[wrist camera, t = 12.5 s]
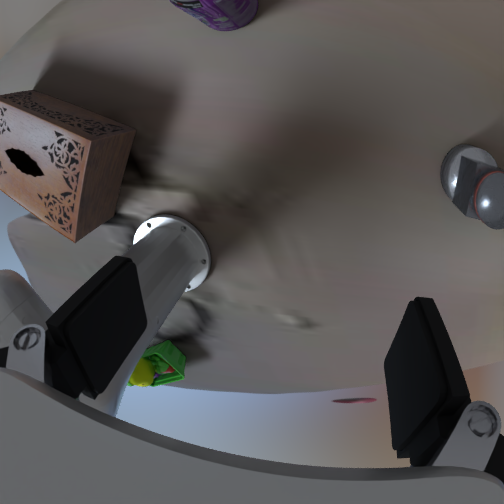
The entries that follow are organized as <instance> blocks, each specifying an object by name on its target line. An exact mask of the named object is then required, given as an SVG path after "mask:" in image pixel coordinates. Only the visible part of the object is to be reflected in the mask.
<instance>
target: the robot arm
mask: <svg viewBox="0 0 504 504" xmlns="http://www.w3.org/2000/svg"><path fill="white" fill-rule="evenodd" d="M210 265H211V256H210V251H209V247H208V245H207V243H206V241H205V239H204V237H203V236H202V235H201V233H200V232H199V231H198V230H197V229H196V228H195V227H194V226H193V225H192V224H190V223H189V222H188V221H186V220H184V219H182V218H180V217H177V216H173V215H167V214H162V215H156V216H153V217H151V218H149V219H148V220H146V221H145V222H144V223H142V224H141V225H140V227H139V228H138V229H137V231H136V234H135V236H134V242H133V246H132V247H131V248H129V249H128V250H127V251H126V252H125V253H124V254H123V255H121V256H115V257H113V258H112V259H111V260H110V261H109V262H108V263H107V264H106V265H104V266H103V267H102V268H101V269H100V270H99V271H98V272H97V273H96V274H94V275H93V276H92V277H91V278H90V279H89V280H88V281H87V282H86V283H85V284H84V285H83V286H82V287H80V288H79V289H78V290H77V291H76V292H75V293H74V294H73V295H72V296H71V297H70V298H69V299H68V300H67V301H66V302H65V303H64V304H63V305H62V306H61V307H60V308H59V309H58V310H57V311H56V312H55V313H54V314H53V313H52V311H51V310H50V309H49V308H48V307H47V305H46V304H45V303H44V302H43V300H42V299H41V298H40V297H39V295H38V294H37V293H36V292H35V291H34V289H33V288H32V287H31V286H30V285H29V283H28V282H27V281H26V280H25V279H24V278H23V277H22V276H21V275H20V274H18V273H17V272H15V271H12V270H0V504H504V436H503V435H502V434H500V429H501V419H500V416H499V413H498V412H497V410H496V409H495V408H494V407H493V406H492V405H490V404H489V403H486V402H484V401H474V402H472V403H471V399H470V393H469V390H468V387H467V384H466V381H465V378H464V375H463V372H462V369H461V366H460V363H459V361H458V358H457V355H456V353H455V350H454V347H453V345H452V342H451V340H450V337H449V335H448V332H447V330H446V327H445V325H444V323H443V320H442V318H441V316H440V313H439V311H438V309H437V307H436V304H435V302H434V300H433V299H432V298H424V297H416V298H415V299H414V301H410V302H409V304H408V306H407V309H406V311H405V314H404V316H403V319H402V321H401V324H400V326H399V328H398V331H397V333H396V335H395V338H394V340H393V342H392V344H391V347H390V349H389V351H388V353H387V355H386V358H385V361H384V371H385V378H386V386H387V394H388V401H389V412H390V422H391V435H392V447H393V449H394V450H397V458H410V464H411V466H410V467H404V468H335V467H320V466H308V465H297V464H289V463H282V462H274V461H268V460H261V459H256V458H250V457H245V456H240V455H235V454H230V453H226V452H221V451H217V450H213V449H209V448H205V447H200V446H197V445H193V444H190V443H186V442H183V441H180V440H176V439H173V438H170V437H167V436H164V435H161V434H158V433H155V432H152V431H149V430H146V429H144V428H141V427H138V426H135V425H133V424H130V423H128V422H125V421H123V420H120V419H118V418H115V416H116V414H117V411H118V408H119V405H120V402H121V399H122V397H123V394H124V391H125V388H126V386H127V383H128V381H129V379H130V377H131V375H132V373H133V371H134V369H135V367H136V365H137V363H138V362H139V360H140V358H141V357H142V355H143V353H144V352H145V350H146V349H147V347H148V345H149V344H150V342H151V341H152V339H153V338H154V336H155V335H156V333H157V332H158V330H159V329H160V327H161V326H162V324H163V323H164V321H165V319H166V318H167V316H168V315H169V313H170V312H171V310H172V309H173V307H174V306H175V304H176V303H177V301H178V300H179V298H180V297H181V295H182V294H183V292H185V291H190V290H193V289H195V288H197V287H198V286H199V285H201V284H202V282H203V281H204V280H205V278H206V277H207V275H208V273H209V270H210Z"/></svg>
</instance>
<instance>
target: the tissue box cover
mask: <svg viewBox="0 0 504 504" xmlns="http://www.w3.org/2000/svg"><path fill="white" fill-rule="evenodd" d="M136 131H137V130H136V129H133V128H131V127H129V126H126V125H124V124H121V123H119V122H117V121H114V120H112V119H109V118H107V117H104V116H102V115H99V114H97V113H94V112H92V111H89V110H86V109H84V108H81V107H79V106H76V105H73V104H71V103H68V102H65V101H63V100H60V99H57V98H54V97H51V96H49V95H46V94H43V93H40V92H37V91H34V90H29V91H22V92H16V93H10V94H4V95H0V190H1V191H2V192H4V193H5V194H6V195H8V196H9V197H10V198H12V199H13V200H14V201H16V202H17V203H19V204H20V205H21V206H22V207H24V208H25V209H26V210H28V211H29V212H31V213H32V214H33V215H35V216H36V217H38V218H39V219H40V220H42V221H43V222H45V223H46V224H48V225H49V226H50V227H52V228H53V229H55V230H56V231H58V232H59V233H61V234H62V235H64V236H65V237H67V238H68V239H70V240H71V241H73V242H74V243H76V242H77V241H79V240H80V239H81V238H83V237H84V236H86V235H87V234H88V233H90V232H91V231H93V230H94V229H96V228H97V227H99V226H100V225H101V224H103V223H104V222H106V221H107V220H109V219H110V218H112V217H113V216H114V213H115V209H116V204H117V200H118V195H119V191H120V187H121V183H122V179H123V175H124V171H125V168H126V164H127V160H128V157H129V153H130V150H131V147H132V143H133V140H134V137H135V134H136ZM22 153H23V154H22ZM22 161H23V162H22ZM25 163H26V164H25ZM27 164H28V165H27ZM30 166H31V167H30ZM32 167H33V168H32ZM35 169H36V170H35ZM37 170H38V171H37ZM40 172H41V173H40ZM42 173H43V174H42Z"/></svg>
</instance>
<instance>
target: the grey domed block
mask: <svg viewBox="0 0 504 504" xmlns="http://www.w3.org/2000/svg"><path fill="white" fill-rule="evenodd" d="M452 202H453V203H454V204H455V205H456V206H457V208H458V209H459V210H460V211H461V212H462V213H463V214H464V215H465V216H467V217H471V218H475V219H478V220H481V221H482V222H483V223H485V224H486V225H487V226H489V227H490V228H493V229H503V228H504V170H502V169H500V168H498V167H495V166H492V165H489V164H487V163H484V162H481V161H477V160H474V159H471V158H468V157H465V156H461V160H460V166H459V171H458V177H457V182H456V187H455V191H454V196H453V200H452Z"/></svg>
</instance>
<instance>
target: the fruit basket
mask: <svg viewBox="0 0 504 504" xmlns="http://www.w3.org/2000/svg"><path fill="white" fill-rule="evenodd" d="M185 361H186V356H184V355H183V354H182V353H181V352H180V351H179V350H178V349H177V348H176V347H175V346H174V345H173V344H172V343H171V341H169V340H167V341H165V342H163V343H160V344H158V345H156V346H153V347H150V348H149V349H146V350H145V352H144V353H143V355H142V357H141V358H140V360H139V362H138V363H137V365H136V367H135V369H134V371H133V373H132V375H131V377H130V379H129V381H128V383H127V385H128V386H133V385H137V386H142V387H144V386H145V387H146V386H149V385H150V386H152V387H154V386H158V385H162V384H167V383H171V382H175V381H179V380H183V379H184V369H185Z"/></svg>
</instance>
